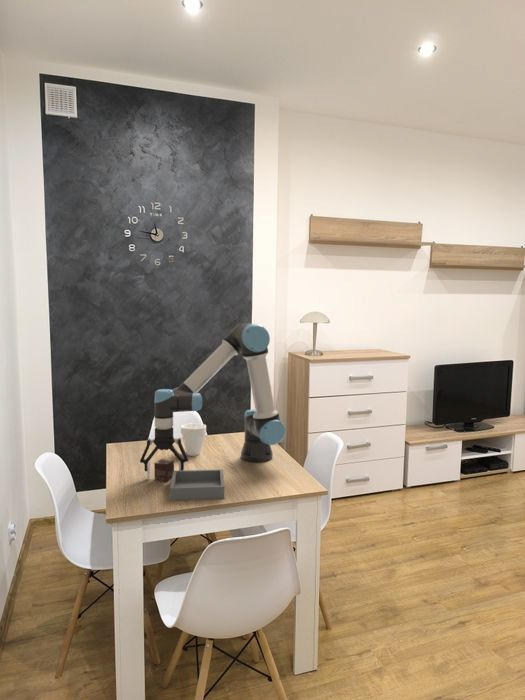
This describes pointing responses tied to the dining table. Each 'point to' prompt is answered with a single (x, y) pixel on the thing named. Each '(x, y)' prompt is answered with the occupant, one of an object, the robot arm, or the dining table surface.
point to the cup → (193, 437)
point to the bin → (197, 485)
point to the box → (164, 470)
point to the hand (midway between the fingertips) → (164, 478)
